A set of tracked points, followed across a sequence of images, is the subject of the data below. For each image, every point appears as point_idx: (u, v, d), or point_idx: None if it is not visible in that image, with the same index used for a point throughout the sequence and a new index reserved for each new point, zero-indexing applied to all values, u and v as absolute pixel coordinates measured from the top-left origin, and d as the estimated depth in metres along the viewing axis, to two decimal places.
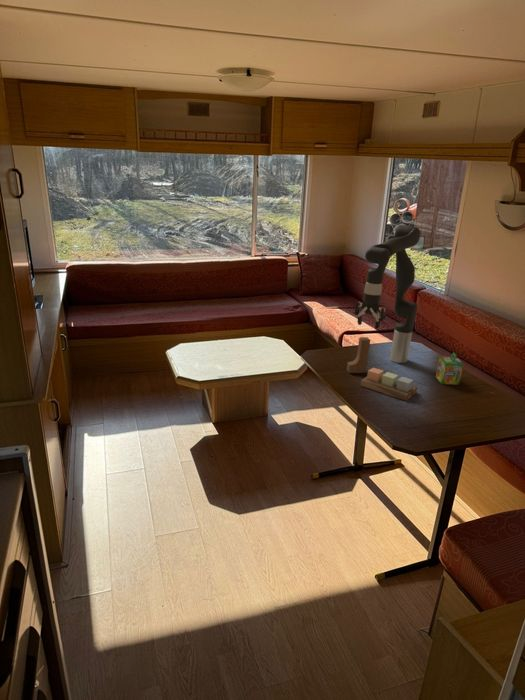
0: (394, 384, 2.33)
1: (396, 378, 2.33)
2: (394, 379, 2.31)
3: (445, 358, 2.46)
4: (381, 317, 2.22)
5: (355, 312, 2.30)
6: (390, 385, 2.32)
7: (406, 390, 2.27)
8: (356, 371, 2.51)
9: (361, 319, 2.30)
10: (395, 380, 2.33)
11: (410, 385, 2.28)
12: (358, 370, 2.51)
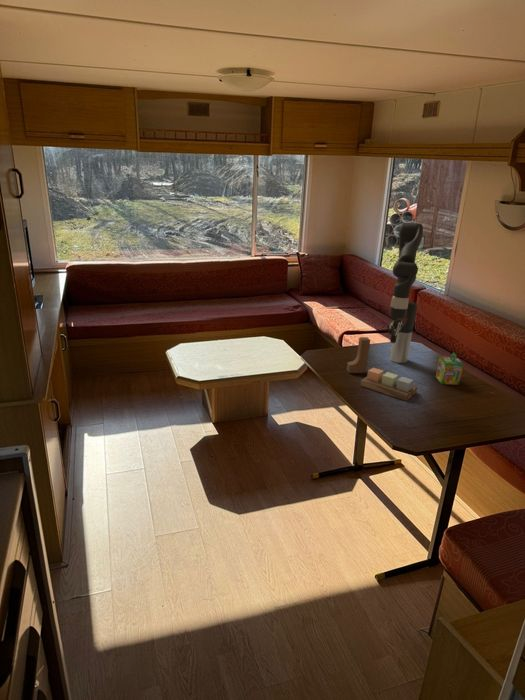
0: (394, 384, 2.33)
1: (396, 378, 2.33)
2: (394, 379, 2.31)
3: (445, 358, 2.46)
4: (400, 329, 2.31)
5: (394, 332, 2.26)
6: (390, 385, 2.32)
7: (406, 390, 2.27)
8: (356, 371, 2.51)
9: None
10: (395, 380, 2.33)
11: (410, 385, 2.28)
12: (358, 370, 2.51)
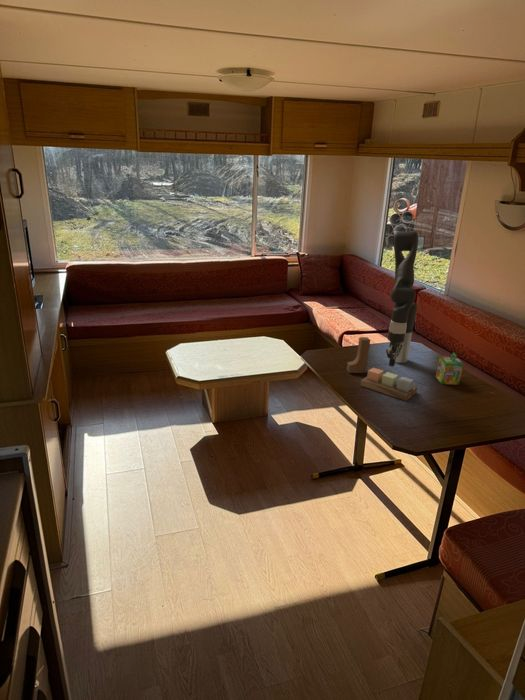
0: (394, 384, 2.33)
1: (396, 378, 2.33)
2: (394, 379, 2.31)
3: (445, 358, 2.46)
4: (398, 353, 2.31)
5: (393, 356, 2.27)
6: (390, 385, 2.32)
7: (406, 390, 2.27)
8: (356, 371, 2.51)
9: None
10: (395, 380, 2.33)
11: (410, 385, 2.28)
12: (358, 370, 2.51)
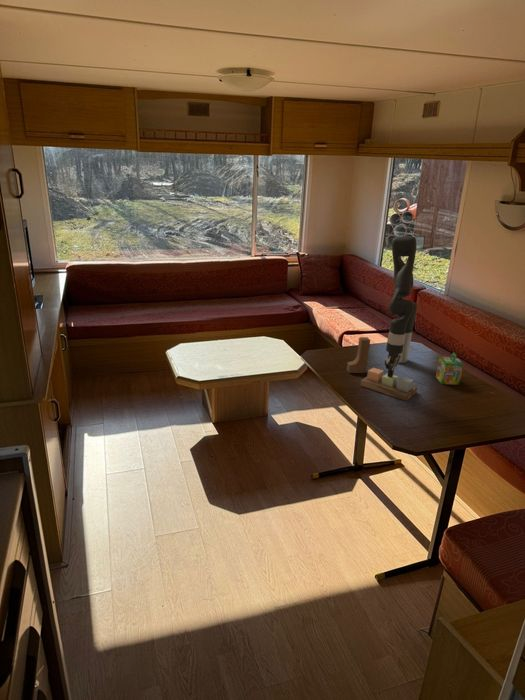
0: (394, 385, 2.33)
1: (396, 379, 2.33)
2: (394, 380, 2.31)
3: (445, 358, 2.46)
4: (397, 363, 2.33)
5: (391, 367, 2.29)
6: (390, 386, 2.32)
7: (406, 390, 2.27)
8: (356, 371, 2.51)
9: None
10: (395, 381, 2.33)
11: (410, 385, 2.28)
12: (358, 370, 2.51)
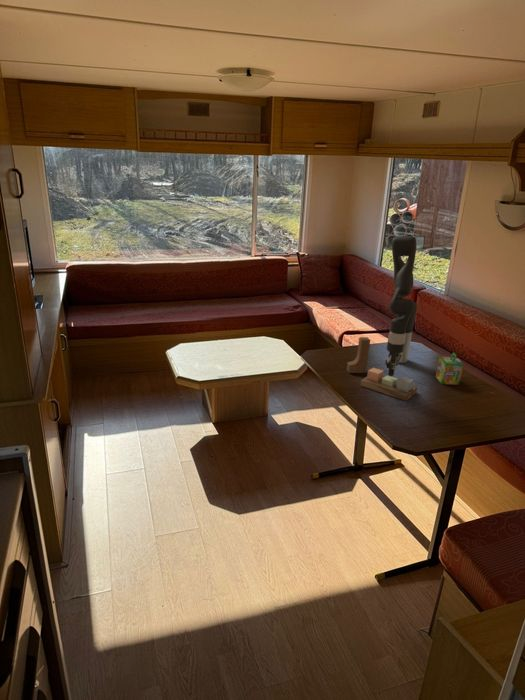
0: None
1: (395, 381, 2.33)
2: (393, 382, 2.32)
3: (445, 358, 2.46)
4: (397, 362, 2.33)
5: (392, 367, 2.29)
6: None
7: (406, 390, 2.27)
8: (356, 371, 2.51)
9: None
10: (394, 383, 2.33)
11: (410, 385, 2.28)
12: (358, 370, 2.51)
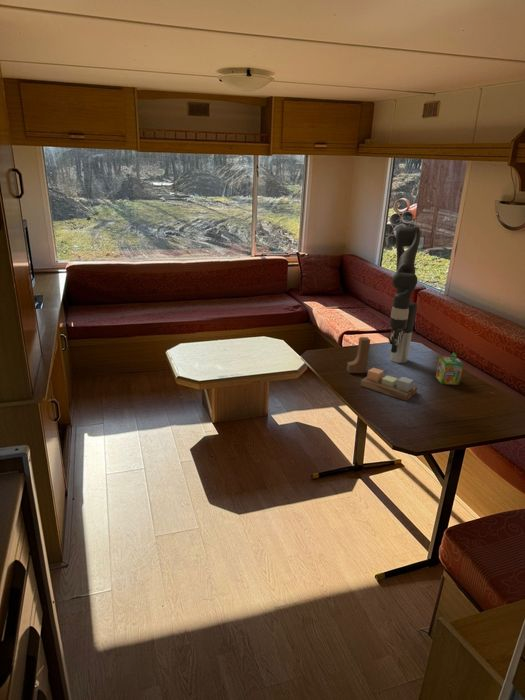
0: None
1: (395, 381, 2.33)
2: (393, 382, 2.32)
3: (445, 358, 2.46)
4: (400, 339, 2.30)
5: (395, 343, 2.26)
6: None
7: (406, 390, 2.27)
8: (356, 371, 2.51)
9: None
10: (394, 383, 2.33)
11: (410, 385, 2.28)
12: (358, 370, 2.51)
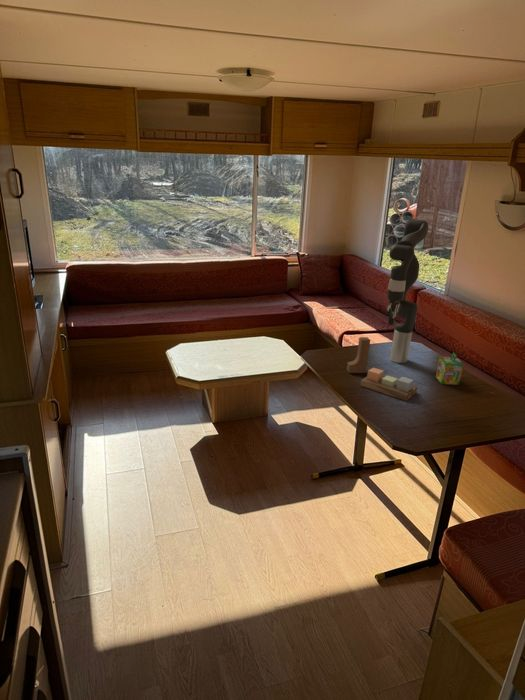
0: None
1: (395, 381, 2.33)
2: (393, 382, 2.32)
3: (445, 358, 2.46)
4: (397, 312, 2.34)
5: (392, 315, 2.30)
6: None
7: (406, 390, 2.27)
8: (356, 371, 2.51)
9: None
10: (394, 383, 2.33)
11: (410, 385, 2.28)
12: (358, 370, 2.51)
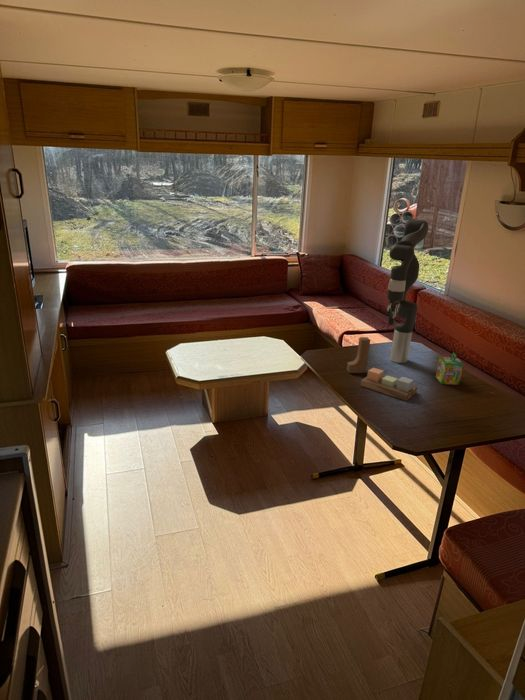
0: None
1: (395, 381, 2.33)
2: (393, 382, 2.32)
3: (445, 358, 2.46)
4: (397, 312, 2.34)
5: (392, 315, 2.30)
6: None
7: (406, 390, 2.27)
8: (356, 371, 2.51)
9: None
10: (394, 383, 2.33)
11: (410, 385, 2.28)
12: (358, 370, 2.51)
